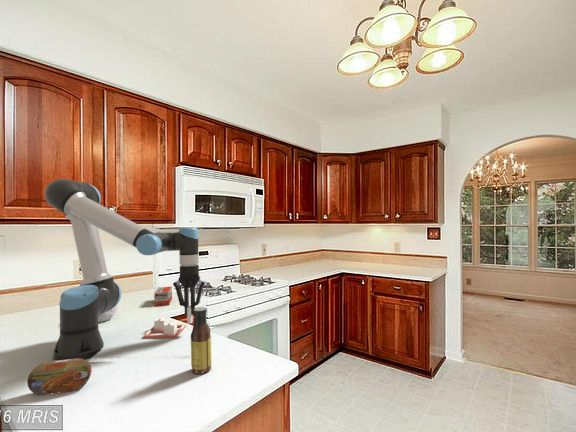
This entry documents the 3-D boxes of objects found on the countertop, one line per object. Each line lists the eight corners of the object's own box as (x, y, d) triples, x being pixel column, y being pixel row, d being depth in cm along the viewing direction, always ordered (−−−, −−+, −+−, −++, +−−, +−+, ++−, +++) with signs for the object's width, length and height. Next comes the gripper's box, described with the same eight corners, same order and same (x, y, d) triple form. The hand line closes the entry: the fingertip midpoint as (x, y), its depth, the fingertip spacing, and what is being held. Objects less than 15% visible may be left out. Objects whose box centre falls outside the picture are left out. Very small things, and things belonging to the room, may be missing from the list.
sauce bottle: (203, 364, 105) (203, 304, 105) (215, 369, 101) (215, 307, 101) (186, 371, 100) (186, 308, 100) (198, 377, 96) (198, 312, 96)
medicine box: (157, 300, 190) (158, 286, 190) (172, 299, 192) (172, 286, 192) (153, 306, 176) (154, 292, 176) (169, 305, 178) (169, 291, 178)
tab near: (173, 336, 126) (173, 323, 127) (163, 336, 126) (163, 324, 126) (176, 333, 130) (176, 320, 130) (167, 333, 130) (167, 320, 130)
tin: (26, 397, 86) (26, 366, 86) (32, 391, 89) (32, 361, 89) (89, 389, 90) (89, 359, 90) (92, 384, 93) (92, 355, 93)
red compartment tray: (176, 341, 125) (176, 335, 125) (143, 341, 124) (143, 335, 124) (185, 329, 138) (185, 324, 138) (155, 330, 137) (155, 324, 137)
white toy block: (163, 331, 132) (163, 319, 132) (154, 331, 132) (154, 319, 132) (167, 328, 136) (167, 316, 136) (157, 328, 136) (157, 316, 136)
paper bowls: (76, 326, 142) (76, 309, 143) (86, 316, 157) (86, 300, 157) (114, 323, 147) (114, 306, 147) (120, 313, 162) (120, 298, 162)
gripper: (207, 263, 133) (208, 319, 133) (176, 263, 132) (176, 320, 132) (203, 265, 126) (204, 325, 125) (170, 266, 125) (170, 326, 125)
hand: (190, 322), depth 129 cm, fingers closed
